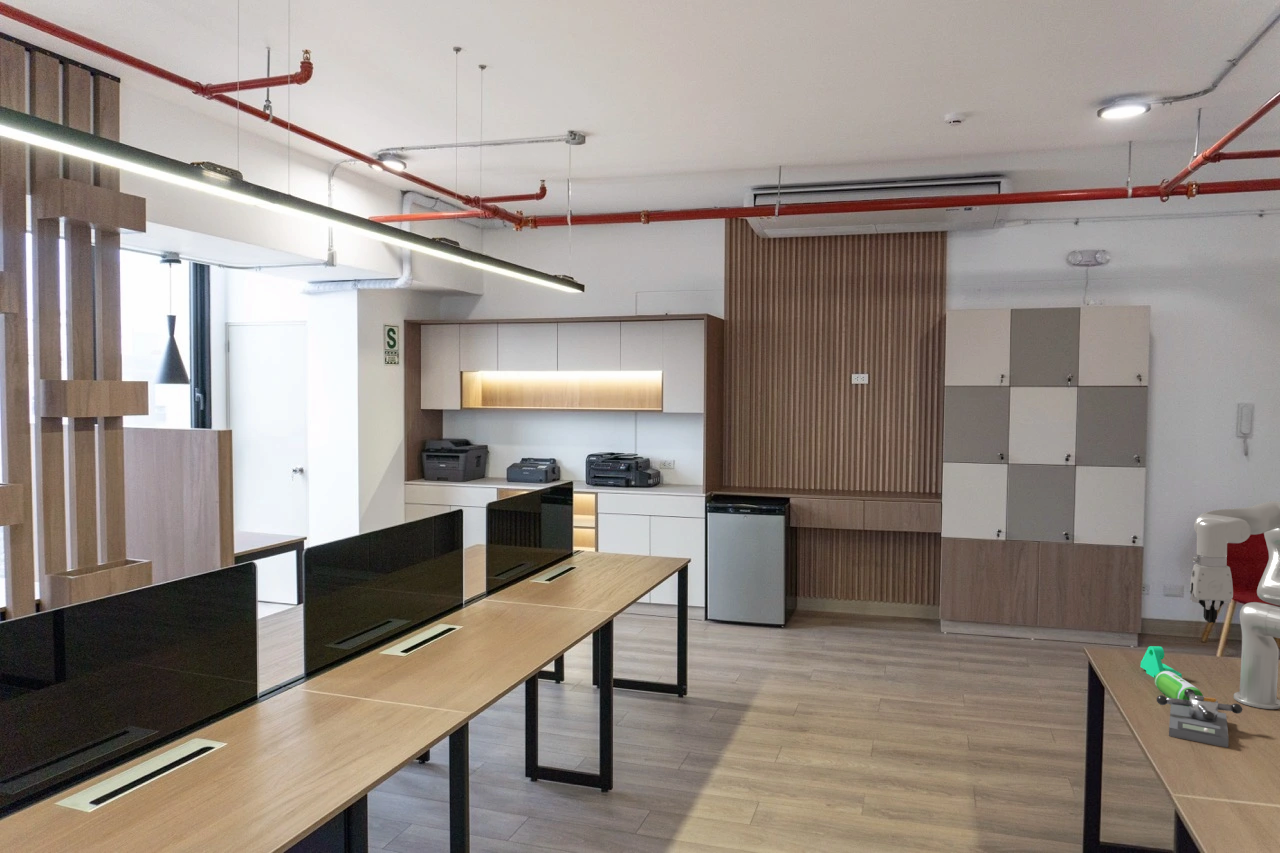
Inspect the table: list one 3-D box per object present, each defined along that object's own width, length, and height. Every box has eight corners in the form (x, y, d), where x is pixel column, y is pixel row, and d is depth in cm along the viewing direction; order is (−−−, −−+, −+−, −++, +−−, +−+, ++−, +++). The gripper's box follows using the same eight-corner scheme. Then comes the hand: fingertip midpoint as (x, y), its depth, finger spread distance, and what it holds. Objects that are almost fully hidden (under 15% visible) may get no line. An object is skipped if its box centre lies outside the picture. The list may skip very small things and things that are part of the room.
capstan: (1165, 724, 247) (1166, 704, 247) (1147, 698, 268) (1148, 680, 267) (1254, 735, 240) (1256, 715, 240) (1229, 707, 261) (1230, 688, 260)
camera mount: (1182, 682, 292) (1184, 652, 291) (1160, 681, 292) (1161, 651, 291) (1162, 670, 304) (1163, 641, 303) (1140, 670, 304) (1141, 641, 303)
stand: (1170, 711, 265) (1171, 696, 264) (1225, 721, 257) (1226, 706, 257) (1168, 736, 246) (1169, 720, 245) (1228, 748, 238) (1229, 731, 238)
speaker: (1205, 712, 265) (1206, 688, 264) (1180, 711, 265) (1181, 687, 265) (1175, 692, 282) (1176, 669, 282) (1152, 691, 283) (1153, 668, 282)
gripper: (1189, 563, 255) (1188, 624, 256) (1245, 564, 252) (1244, 626, 253) (1178, 557, 262) (1177, 617, 263) (1233, 558, 259) (1231, 618, 261)
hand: (1210, 621), depth 258 cm, fingers closed
